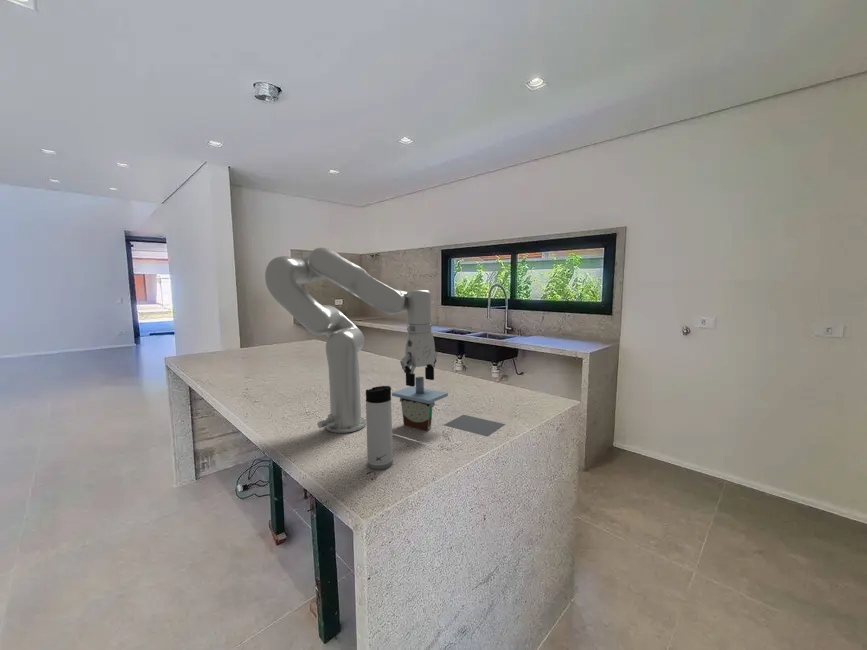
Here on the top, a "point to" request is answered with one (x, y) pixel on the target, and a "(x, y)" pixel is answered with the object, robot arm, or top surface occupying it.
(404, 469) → the top surface
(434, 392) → the lid
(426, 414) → the food container
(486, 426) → the mat
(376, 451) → the travel mug
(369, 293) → the robot arm
